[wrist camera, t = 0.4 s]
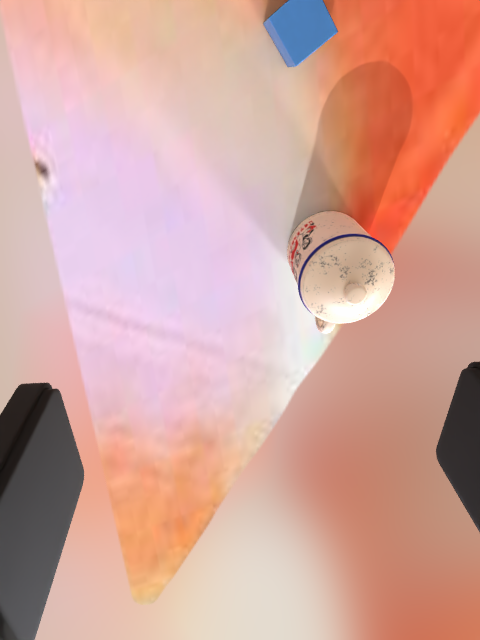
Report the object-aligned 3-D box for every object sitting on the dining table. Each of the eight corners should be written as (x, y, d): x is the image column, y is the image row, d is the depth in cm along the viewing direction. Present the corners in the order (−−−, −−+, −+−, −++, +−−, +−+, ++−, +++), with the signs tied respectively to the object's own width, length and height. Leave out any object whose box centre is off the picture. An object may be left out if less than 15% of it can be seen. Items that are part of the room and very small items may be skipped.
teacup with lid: (291, 203, 43) (316, 242, 33) (375, 211, 44) (423, 251, 34) (274, 304, 49) (291, 362, 39) (348, 309, 50) (382, 367, 40)
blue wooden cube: (262, 23, 35) (268, 17, 32) (302, -12, 34) (312, -21, 31) (288, 67, 37) (295, 66, 34) (326, 35, 36) (338, 31, 33)
